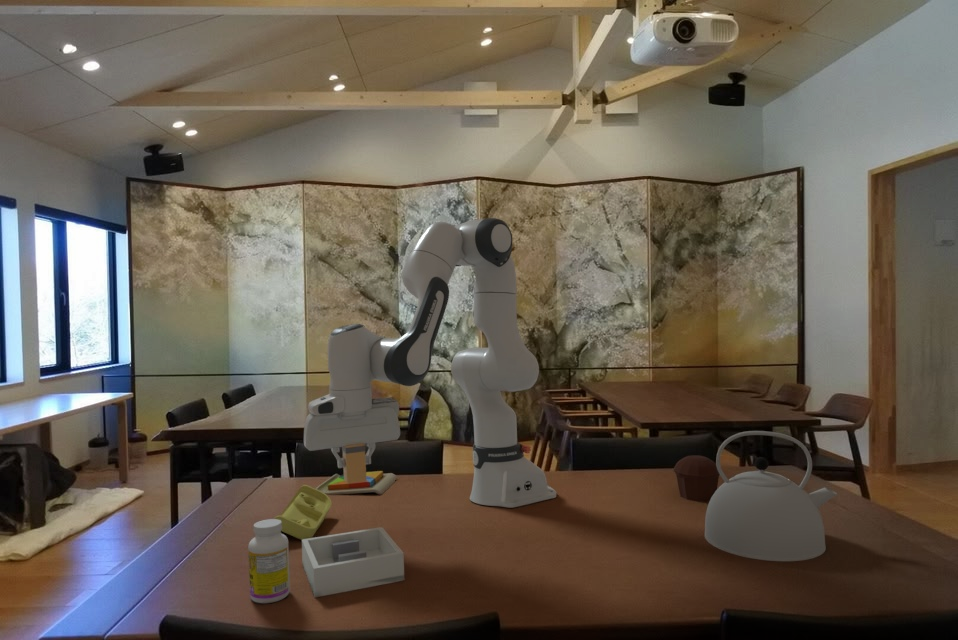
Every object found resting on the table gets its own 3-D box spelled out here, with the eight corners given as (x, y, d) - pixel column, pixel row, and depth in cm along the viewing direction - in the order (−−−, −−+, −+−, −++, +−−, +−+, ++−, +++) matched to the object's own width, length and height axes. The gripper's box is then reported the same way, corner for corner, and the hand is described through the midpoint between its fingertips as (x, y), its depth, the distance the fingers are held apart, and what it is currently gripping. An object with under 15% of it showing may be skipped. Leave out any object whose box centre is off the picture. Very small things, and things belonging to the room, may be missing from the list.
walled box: (382, 551, 133) (382, 526, 133) (404, 580, 118) (403, 553, 118) (302, 565, 127) (301, 539, 127) (314, 597, 112) (313, 568, 112)
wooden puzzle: (336, 479, 194) (336, 468, 194) (398, 480, 192) (397, 468, 192) (313, 496, 177) (313, 483, 177) (381, 497, 174) (380, 484, 174)
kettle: (828, 528, 139) (826, 423, 139) (849, 568, 118) (847, 445, 118) (704, 518, 148) (702, 420, 147) (704, 555, 126) (701, 439, 126)
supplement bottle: (255, 589, 116) (253, 517, 116) (293, 587, 117) (291, 515, 117) (245, 606, 110) (242, 530, 109) (285, 603, 110) (283, 528, 110)
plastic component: (314, 531, 140) (271, 512, 140) (300, 561, 140) (258, 542, 140) (336, 498, 160) (298, 481, 159) (324, 524, 160) (287, 508, 160)
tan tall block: (362, 476, 142) (360, 440, 141) (366, 481, 138) (364, 443, 138) (343, 479, 140) (341, 442, 140) (347, 484, 136) (345, 446, 136)
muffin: (731, 497, 164) (730, 457, 163) (703, 505, 157) (702, 464, 157) (692, 487, 173) (691, 449, 173) (664, 495, 167) (663, 456, 167)
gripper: (394, 394, 145) (397, 456, 146) (300, 404, 138) (304, 468, 138) (402, 398, 140) (405, 462, 140) (304, 408, 132) (308, 475, 132)
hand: (354, 465), depth 139 cm, fingers closed on tan tall block, 4 cm apart
